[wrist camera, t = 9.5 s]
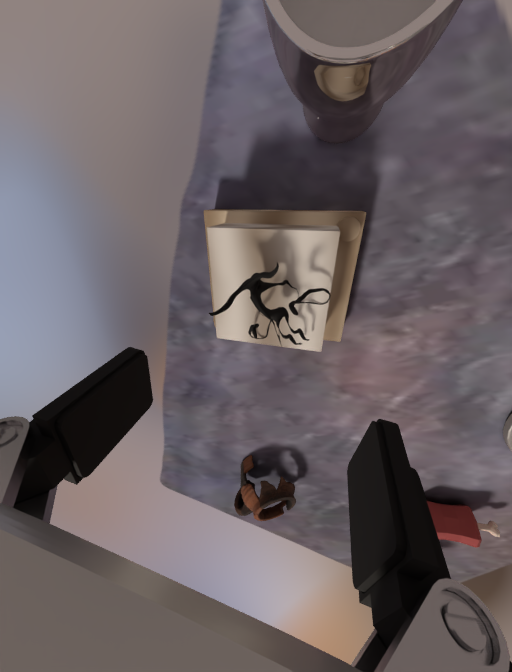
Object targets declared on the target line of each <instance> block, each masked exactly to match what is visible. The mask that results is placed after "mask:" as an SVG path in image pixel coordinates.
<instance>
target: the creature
mask: <svg viewBox="0 0 512 672" xmlns="http://www.w3.org/2000/svg"><path fill="white" fill-rule="evenodd" d="M278 269H279V264H278V263H277V266H276V268H275V269H274V270H273V271H271V272H261V273H254V274H253V275H252V276H251V278H249V279H247V280H245V281H244V282H243V283H242V285H241V286H240V287H239V288H238V289H237V290H236V291H235V292H234V293H233V294H232V295H231V296H230V297H229V299H228V300H227V302H226V303H225V304H224V305H223V306H222V307H221V308H220V309H219V310H217V311H215V312H213V313H209V314H210V315H211V316H215V315H218V314H220V313H222V312H224V311H226V310H227V309H228V308H229V307H230V306H231V305H232V303H233V301H234V299H235V298H236V296H237V295H238V294H239V293H241V292H242V291H244V290H246V289H248V290H250V294H251V296H250V299H251V301H252V302H253V304H254V305H255V307H256V308H257V309H258V310H259V313H260V312H261V313H262V314H263V316H265V317H267V318H268V319H269V320H270V322H269V325H268V328H267V334H266V336H265V337H263V338H266V337H267V336H268V331H269V326H270V323H271V321H272V323H273V324H274V327H275V323H274V321H275V322H276V325H277V327H278V328H279V324H280V321H281V319H282V318H283V317H285V319H286V321H287V323H288V326H289V328H290V330H291V332H292V333H293V334H297V333H299V335H300V336H301V338H302V339H303V340H306V341H309V339H306V338H305V336H304V333H303V331H302V330H301V329H300V328H299V329H297V330H295V331H294V330H293V329H292V328H291V327H290V325H289V313H288V311H287V309H286V308H284V307H278V308H276V309H272V310H270V309H268V308H266V306H265V305H264V304H263V302H262V299H261V293H262V292H264V291H266V290H267V289H269V288H271V287H274V286H277V285H281V286H284V285H285V284H288V285H289V286H290V287H291V288H294V287H292V286H291V285H290V283H289V282H288V280H284V281H283V282H281V283H269V282H263V281H262V280H260V279H261V278H267V279H269V278H272V277H274V275H275V274H276V273H277V271H278ZM294 289H296V288H294ZM296 290H297V289H296ZM319 291H325V292H326V293H328V294H329V299H330V296H331V295H330V292H329V291H328V290H327V289H324V288H316V289H309V290H307V291H306V292H304V293H303V294H302V295H301V296H300V297H299V293H298V297H299V298H298V299H297V300H295V301H292V302H290V303H289V309H290V310H291V312H292V313H293V314H294V315H296V316H297V315H298V312H297V310H296V308H295V307H294V305H295V304H300V303H311V304H318V303H314V302H301V301H302V300H304V299H305V298H306V296H307V295H309V294H310V293H314V292H319ZM297 292H298V290H297ZM329 299H328V301H329ZM328 301H327V302H328ZM327 302H326V303H327ZM326 303H324V304H326ZM318 305H323V304H318ZM261 313H260V314H261ZM262 314H261V315H262ZM273 320H274V321H273ZM258 327H259V324H258V323H257V324H253V325H251V326H250V328H249V331H248V333H249V335H250V336H251V332H252V334H253V336H254V337H255V339H263V338H257V332H256V328H258ZM275 330H276V328H275ZM279 331H280V329H279ZM276 333H277V331H276ZM280 333H281V331H280ZM253 336H251V337H252V338H254V337H253ZM277 336H278V339H279V341H280V335H278V334H277ZM281 336H282V337H283V338H284V339H288V338H289V340H290V341H291V342H292V343H293V344H295V345H301V344H302V343H296V341H295V340H294V338H293V336H292V335H291V334H288V335H283V334H282V333H281ZM280 344H281V341H280ZM281 346H282V345H281Z"/></svg>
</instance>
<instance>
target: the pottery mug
mask: <svg viewBox="0 0 512 672" xmlns="http://www.w3.org/2000/svg"><path fill="white" fill-rule="evenodd" d="M253 467H254V465H253V462H252V455H250V456H249V457H247V458H246V459H245V460H244V461H243V462H242V464H241V488H240V490H239V491H238V493H237V495H236V498H235V503H234V506H235V510H236V512H237V513H238V514H239V515H241V516H246V515H248V514H250V513H252V512H253V514H254V518H255V519H256V520H259V521H266V520H270V519H273V518H276V517H278V516H280V515H282V514H284V511H283V506H285V505H286V507H287V510H290V509H291V508H292V507H293V506H294V505H295V503H296V499H295V498H294V495H293V494H294V491H295V486H294V484H292V483H290V482H286V481H285V479H284V478H283V477H282V476H281V477H280V483H279V486H278V488H277V490H276V488H275V487H274V486H273V485H272V484H270V483H268V482H267V481H261V487H262V488H261V494H260V498H259V497H258V496H257V494H256V492H255V484H254V483H252V482H251V481H249V480H247V478H246V473H247V472H248V471H249V470H250V469H252V468H253ZM278 501H282V502H280V503H279V504H277V505H275V506H274V507H270V508H267V509H263V508H265V507H267V506H268V505H270V504H273V503H275V502H278Z"/></svg>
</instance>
